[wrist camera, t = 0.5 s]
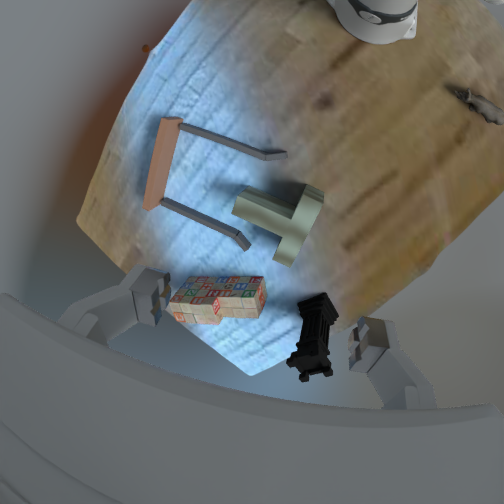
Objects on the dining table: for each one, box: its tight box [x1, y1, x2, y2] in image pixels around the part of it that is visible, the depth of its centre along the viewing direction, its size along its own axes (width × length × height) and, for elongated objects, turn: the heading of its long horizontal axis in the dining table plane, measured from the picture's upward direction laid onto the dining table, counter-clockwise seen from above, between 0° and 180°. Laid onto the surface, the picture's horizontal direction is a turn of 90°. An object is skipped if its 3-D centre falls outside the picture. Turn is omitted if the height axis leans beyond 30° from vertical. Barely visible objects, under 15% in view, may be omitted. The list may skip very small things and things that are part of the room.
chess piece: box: [286, 293, 339, 382], centre depth 60 cm, size 8×8×20 cm
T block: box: [231, 184, 324, 267], centre depth 55 cm, size 15×15×8 cm
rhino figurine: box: [454, 88, 504, 125], centre depth 33 cm, size 4×14×6 cm, turn 79°
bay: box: [142, 117, 288, 252], centre depth 57 cm, size 24×27×6 cm
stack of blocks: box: [169, 277, 267, 325], centre depth 67 cm, size 21×6×12 cm, turn 101°
